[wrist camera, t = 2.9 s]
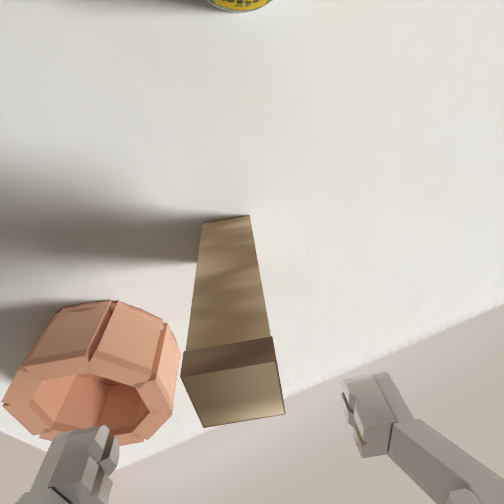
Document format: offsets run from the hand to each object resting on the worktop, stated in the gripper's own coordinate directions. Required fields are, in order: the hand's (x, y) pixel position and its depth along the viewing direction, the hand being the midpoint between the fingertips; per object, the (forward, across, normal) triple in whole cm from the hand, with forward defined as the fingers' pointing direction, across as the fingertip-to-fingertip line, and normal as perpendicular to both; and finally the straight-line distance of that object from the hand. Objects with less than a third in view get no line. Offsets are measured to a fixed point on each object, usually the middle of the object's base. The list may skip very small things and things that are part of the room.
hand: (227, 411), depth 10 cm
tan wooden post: (+11, -1, 0) cm, 11 cm away
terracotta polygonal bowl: (+12, +10, +8) cm, 17 cm away
